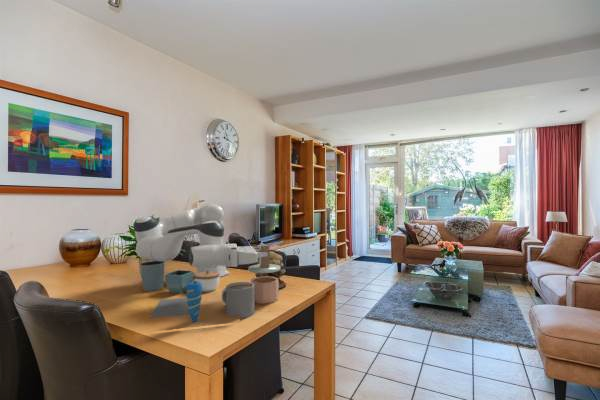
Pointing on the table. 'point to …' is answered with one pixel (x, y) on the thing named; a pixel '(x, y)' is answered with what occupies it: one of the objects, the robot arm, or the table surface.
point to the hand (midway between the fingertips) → (266, 252)
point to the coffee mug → (239, 299)
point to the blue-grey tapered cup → (152, 275)
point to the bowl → (265, 289)
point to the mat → (171, 308)
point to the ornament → (194, 298)
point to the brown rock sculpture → (275, 260)
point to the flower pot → (178, 280)
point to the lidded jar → (208, 280)
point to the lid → (264, 263)
